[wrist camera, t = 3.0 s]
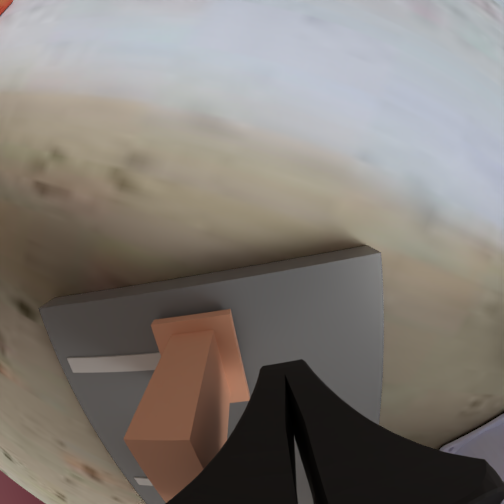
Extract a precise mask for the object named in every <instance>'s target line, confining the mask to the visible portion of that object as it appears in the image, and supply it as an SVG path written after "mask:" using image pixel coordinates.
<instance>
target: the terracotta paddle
mask: <svg viewBox="0 0 504 504" xmlns="http://www.w3.org/2000/svg"><path fill="white" fill-rule="evenodd" d="M151 327H152V331H153V334H154V337H155V340H156V343H157V346H158V349H159V352H160V355H161V358H160V360H159V362H158V364H157V367H156V369H155V371H154V373H153V375H152V377H151V379H150V381H149V384H148V386H147V388H146V390H145V392H144V394H143V397H142V399H141V401H140V403H139V405H138V407H137V410H136V412H135V414H134V416H133V419H132V421H131V423H130V425H129V427H128V430H127V432H126V434H125V436H124V439H123V440H124V441H125V443H126V445H127V446H128V448H129V450H130V451H131V453H132V455H133V456H134V458H135V459H136V461H137V462H138V464H139V466H140V467H141V469H142V470H143V472H144V473H145V475H146V476H147V477H148V479H149V480H150V482H151V483H152V485H153V486H154V487H155V489H156V490H157V492H158V493H159V494H160V496H161V497H162V498H163V500H164V501H165V502H166V503H167V502H168V501H169V500H171V499H172V498H173V497H174V496H175V495H176V494H178V493H179V492H180V491H181V490H182V489H183V488H185V487H186V486H187V485H188V484H189V483H190V482H191V481H192V480H193V479H195V478H196V477H197V476H198V475H199V473H200V472H201V471H202V470H203V469H204V468H205V467H206V466H207V465H208V464H209V462H210V461H211V460H212V459H213V458H214V457H215V455H216V454H217V453H218V452H219V450H220V449H221V448H222V446H223V445H224V444H225V442H226V441H227V434H228V420H229V406H230V403H235V402H243V401H249V400H250V393H249V388H248V384H247V380H246V376H245V371H244V367H243V363H242V358H241V354H240V350H239V345H238V341H237V336H236V332H235V327H234V323H233V318H232V313H231V309H226V310H220V311H213V312H206V313H200V314H193V315H185V316H178V317H171V318H163V319H155V320H154V321H153V322H152V324H151Z"/></svg>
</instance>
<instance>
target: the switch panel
mask: <svg viewBox="0 0 504 504" xmlns="http://www.w3.org/2000/svg"><path fill="white" fill-rule="evenodd" d="M226 309H231V313H232V318H233V323H234V327H235V332H236V336H237V341H238V345H239V350H240V354H241V358H242V363H243V367H244V371H245V376H246V380H247V384H248V388H249V393H250V398H251V395H252V393H253V391H254V388H255V385H256V382H257V379H258V376H259V371H260V369H261V367H262V366H266V365H272V364H278V363H284V362H289V361H295V360H300V359H303V360H304V361H306V363H307V364H308V365H309V367H310V368H311V369H312V370H313V372H314V373H315V374H316V375H317V376H318V377H319V378H320V379H321V380H322V381H323V382H324V383H325V384H326V385H327V386H328V387H329V388H330V389H331V390H332V391H333V392H334V393H335V394H336V395H337V396H339V397H340V398H341V399H342V400H343V401H345V402H346V403H347V404H348V405H350V406H351V407H352V408H354V409H355V410H356V411H358V412H359V413H360V414H362V415H363V416H365V417H366V418H368V419H370V420H371V421H373V422H374V423H376V424H378V425H379V418H380V406H381V393H382V377H383V350H384V304H383V276H382V259H381V252H379V251H377V250H375V249H373V248H371V247H370V246H368V245H366V246H361V247H355V248H350V249H344V250H339V251H333V252H328V253H322V254H317V255H311V256H306V257H300V258H294V259H289V260H283V261H277V262H272V263H266V264H260V265H254V266H249V267H243V268H237V269H231V270H225V271H219V272H213V273H207V274H201V275H195V276H189V277H183V278H177V279H171V280H165V281H159V282H153V283H147V284H140V285H134V286H128V287H121V288H115V289H109V290H102V291H96V292H89V293H83V294H76V295H70V296H63V297H56V298H53V299H52V300H50V301H49V302H47V303H46V304H44V305H43V306H41V307H40V308H39V311H40V314H41V317H42V319H43V322H44V325H45V328H46V330H47V333H48V336H49V338H50V341H51V343H52V346H53V348H54V350H55V353H56V355H57V357H58V360H59V362H60V364H61V366H62V369H63V371H64V373H65V375H66V377H67V379H68V381H69V384H70V386H71V388H72V390H73V392H74V394H75V396H76V397H77V399H78V401H79V403H80V405H81V407H82V409H83V411H84V412H85V414H86V416H87V418H88V420H89V421H90V423H91V425H92V426H93V428H94V430H95V431H96V433H97V435H98V436H99V438H100V440H101V441H102V443H103V444H104V446H105V448H106V449H107V451H108V452H109V454H110V455H111V457H112V458H113V460H114V461H115V463H116V464H117V466H118V467H119V468H120V470H121V471H122V473H123V474H124V475H125V477H126V478H127V479H128V481H129V482H130V483H131V485H132V486H133V487H134V489H135V490H136V491H137V493H138V494H139V495H140V496H141V498H142V499H143V500H144V501H145V503H146V504H165V503H166V502H165V501H164V500H163V498H162V497H161V496H160V494H159V493H158V492H157V490H156V489H155V487H154V486H153V485H152V483H151V482H150V480H149V479H148V477H147V476H146V475H145V473H144V472H143V470H142V469H141V467H140V466H139V464H138V462H137V461H136V459H135V458H134V456H133V455H132V453H131V451H130V450H129V448H128V446H127V445H126V443H125V441H124V440H123V439H124V436H125V434H126V432H127V430H128V427H129V425H130V423H131V421H132V419H133V416H134V414H135V412H136V410H137V407H138V405H139V403H140V401H141V399H142V397H143V394H144V392H145V390H146V388H147V386H148V384H149V381H150V379H151V377H152V375H153V373H154V371H155V369H156V367H157V364H158V362H159V360H160V358H161V355H160V352H159V349H158V346H157V343H156V340H155V337H154V334H153V331H152V327H151V324H152V322H153V321H154V320H155V319H163V318H171V317H178V316H185V315H193V314H200V313H206V312H213V311H220V310H226ZM248 402H249V401H243V402H235V403H230V406H229V420H228V434H227V439H228V438H229V436H230V435H231V433H232V432H233V430H234V429H235V427H236V425H237V423H238V421H239V420H240V418H241V416H242V414H243V413H244V411H245V409H246V406H247V404H248ZM294 443H295V462H296V483H297V498H298V504H314V503H313V498H312V494H311V490H310V487H309V484H308V480H307V477H306V474H305V470H304V467H303V464H302V461H301V457H300V454H299V451H298V447H297V444H296V441H295V437H294Z"/></svg>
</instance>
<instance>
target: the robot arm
mask: <svg viewBox="0 0 504 504" xmlns="http://www.w3.org/2000/svg"><path fill="white" fill-rule="evenodd" d="M294 437H295V441H296V444H297V447H298V451H299V454H300V457H301V461H302V464H303V467H304V470H305V474H306V477H307V480H308V484H309V487H310V490H311V494H312V498H313V503H314V504H504V413H503V414H502V415H500V416H499V417H497V418H495V419H494V420H492V421H490V422H489V423H487V424H485V425H483V426H481V427H480V428H478V429H476V430H474V431H472V432H470V433H469V434H467V435H465V436H463V437H461V438H459V439H457V440H455V441H453V442H451V443H448V444H446V445H444V446H443V447H441V448H440V450H436V449H433V448H430V447H426V446H423V445H421V444H418V443H416V442H413V441H411V440H408V439H406V438H404V437H401V436H399V435H397V434H394V433H392V432H391V431H389V430H387V429H385V428H383V427H381V426H379V425H378V424H376V423H374V422H373V421H371V420H370V419H368V418H366V417H365V416H363V415H362V414H360V413H359V412H358V411H356V410H355V409H354V408H352V407H351V406H350V405H348V404H347V403H346V402H345V401H343V400H342V399H341V398H340V397H339V396H337V395H336V394H335V393H334V392H333V391H332V390H331V389H330V388H329V387H328V386H327V385H326V384H325V383H324V382H323V381H322V380H321V379H320V378H319V377H318V376H317V375H316V374H315V373H314V372H313V370H312V369H311V368H310V367H309V365H308V364H307V363H306V361H304V360H303V359H300V360H295V361H289V362H284V363H278V364H272V365H266V366H262V367H261V369H260V371H259V376H258V379H257V382H256V385H255V388H254V391H253V393H252V395H251V398H250V400H249V402H248V404H247V406H246V409H245V411H244V413H243V414H242V416H241V418H240V420H239V421H238V423H237V425H236V427H235V429H234V430H233V432H232V433H231V435H230V436H229V438H228V439H227V441H226V442H225V444H224V445H223V446H222V448H221V449H220V450H219V452H218V453H217V454H216V455H215V457H214V458H213V459H212V460H211V461H210V462H209V464H208V465H207V466H206V467H205V468H204V469H203V470H202V471H201V472H200V473H199V475H198V476H197V477H196V478H195V479H193V480H192V481H191V482H190V483H189V484H188V485H187V486H186V487H185V488H183V489H182V490H181V491H180V492H179V493H178V494H176V495H175V496H174V497H173V498H172V499H171V500H169V501H168V502H167V503H165V504H298V498H297V483H296V462H295V443H294Z"/></svg>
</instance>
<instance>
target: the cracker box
mask: <svg viewBox="0 0 504 504" xmlns="http://www.w3.org/2000/svg"><path fill="white" fill-rule="evenodd" d="M12 2H13V0H0V15H1V14H2V13H3V12H4V11H5V9H6V8H7V7H8V6H9V5H10V4H11V3H12Z"/></svg>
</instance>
